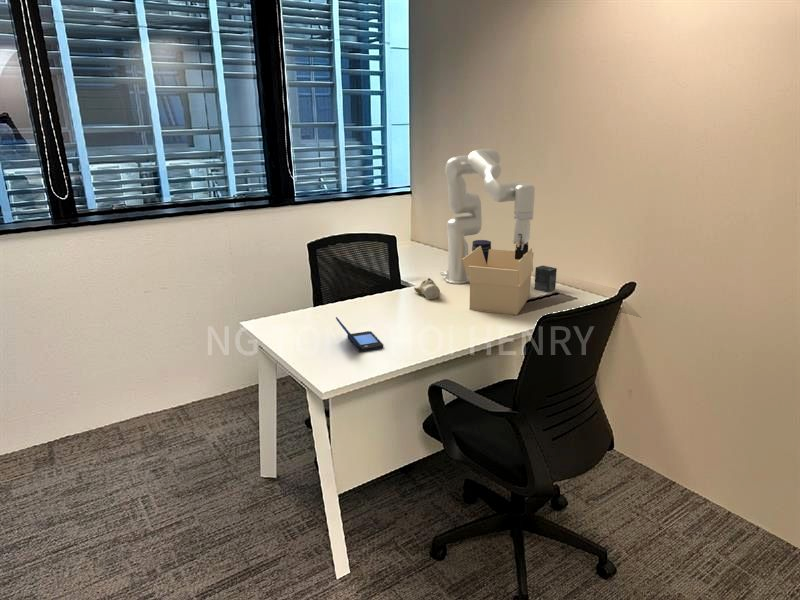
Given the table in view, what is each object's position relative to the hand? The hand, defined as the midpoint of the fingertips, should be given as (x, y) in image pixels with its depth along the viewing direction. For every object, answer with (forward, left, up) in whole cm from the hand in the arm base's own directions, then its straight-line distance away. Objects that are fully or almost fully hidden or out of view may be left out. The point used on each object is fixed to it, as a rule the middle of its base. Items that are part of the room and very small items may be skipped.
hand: (521, 256), depth 219 cm
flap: (+2, 0, -4) cm, 4 cm away
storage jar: (-31, +50, -21) cm, 63 cm away
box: (+6, +26, -21) cm, 34 cm away
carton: (-10, 0, -21) cm, 23 cm away
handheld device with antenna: (-44, -62, -22) cm, 79 cm away
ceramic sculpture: (-41, -2, -22) cm, 46 cm away
